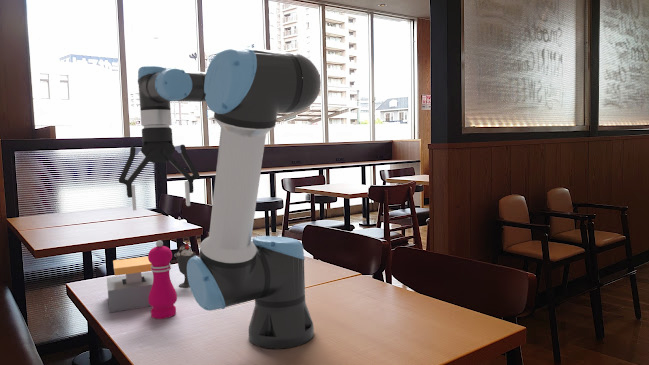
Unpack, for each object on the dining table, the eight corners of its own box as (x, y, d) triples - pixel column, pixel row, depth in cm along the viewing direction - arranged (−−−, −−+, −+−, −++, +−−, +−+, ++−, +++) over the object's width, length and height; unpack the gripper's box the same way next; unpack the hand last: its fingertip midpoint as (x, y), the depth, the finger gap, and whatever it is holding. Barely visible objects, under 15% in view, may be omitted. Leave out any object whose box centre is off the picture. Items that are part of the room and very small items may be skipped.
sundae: (194, 288, 156) (192, 240, 155) (173, 288, 156) (170, 241, 155) (200, 281, 163) (197, 236, 161) (179, 282, 163) (177, 236, 162)
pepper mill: (169, 320, 130) (164, 243, 128) (143, 319, 131) (139, 243, 129) (182, 310, 137) (178, 237, 135) (158, 309, 138) (154, 237, 136)
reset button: (154, 287, 143) (152, 263, 142) (116, 293, 139) (114, 268, 138) (150, 279, 152) (149, 256, 151) (114, 283, 148) (113, 260, 147)
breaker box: (163, 303, 142) (162, 283, 142) (109, 312, 137) (108, 290, 136) (157, 290, 155) (156, 271, 154) (108, 297, 149) (106, 277, 149)
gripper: (202, 126, 140) (206, 202, 142) (104, 128, 131) (110, 210, 133) (207, 125, 133) (211, 205, 135) (104, 127, 124) (111, 213, 126)
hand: (161, 207), depth 134 cm, fingers open, 13 cm apart
